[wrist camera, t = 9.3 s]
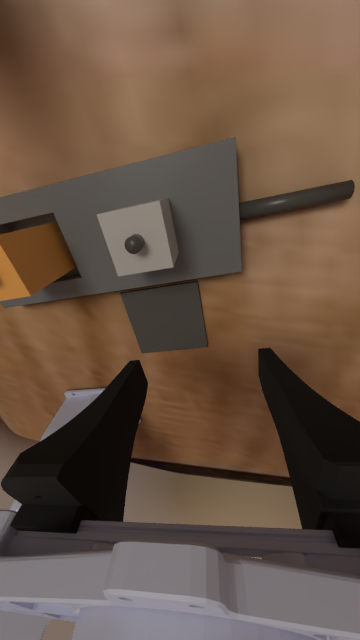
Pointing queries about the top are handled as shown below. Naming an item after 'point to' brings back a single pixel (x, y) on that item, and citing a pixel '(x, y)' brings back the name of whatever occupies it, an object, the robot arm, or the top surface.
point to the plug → (32, 260)
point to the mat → (166, 317)
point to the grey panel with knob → (150, 220)
